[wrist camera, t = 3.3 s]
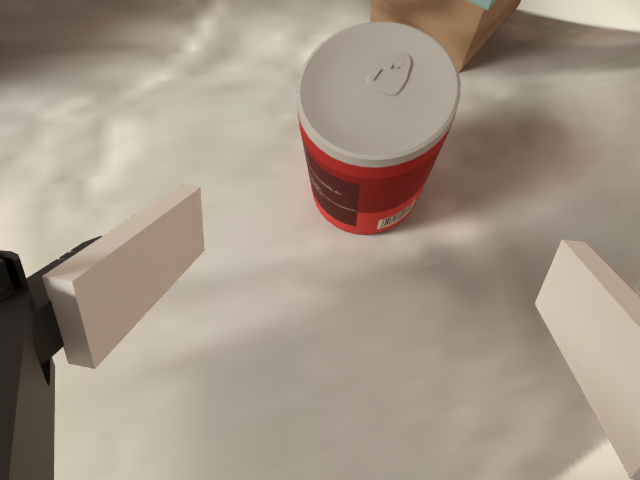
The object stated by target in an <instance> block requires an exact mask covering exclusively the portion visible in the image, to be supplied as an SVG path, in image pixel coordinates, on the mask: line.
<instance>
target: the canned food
mask: <svg viewBox="0 0 640 480" xmlns="http://www.w3.org/2000/svg"><path fill="white" fill-rule="evenodd" d="M460 85H461V82H460V77H459V73H458V69H457V66H456V64H455V62H454V60H453V58H452V56H451V55H450V54H449V52H448V51H447V50H446V49H445V47H444V46H443V45H442V44H441V43H440V42H438V41H437V40H436V39H435V38H434V37H432V36H431V35H429V34H427V33H425V32H424V31H422V30H420V29H417V28H414V27H411V26H409V25H406V24H400V23H394V22H371V23H364V24H359V25H356V26H353V27H349V28H346V29H344V30H342V31H340V32H338V33H336V34H334V35H332V36H331V37H330V38H328V39H327V40H325V41H324V42H323V43H321V44H320V45H319V46H318V47H317V48H316V49H315V50H314V51H313V52H312V54H311V55H310V57H309V58H308V60H307V61H306V63H305V64H304V66H303V69H302V71H301V73H300V76H299V80H298V85H297V112H298V117H299V125H300V130H301V136H302V141H303V146H304V151H305V156H306V161H307V166H308V172H309V177H310V182H311V187H312V192H313V196H314V200H315V203H316V205H317V207H318V209H319V211H320V212H321V214H322V215H323V216H324V217H325V218H326V219H327V220H328V221H329V222H330V223H332V224H333V225H334V226H336V227H337V228H340V229H342V230H344V231H346V232H349V233H353V234H361V235H368V234H376V233H379V232H382V231H385V230H388V229H390V228H392V227H393V226H395V225H397V224H398V223H400V222H401V221H402V220H403V219H404V218H406V217H407V215H408V214H409V213H410V212H411V210H412V209H413V207H414V205H415V203H416V201H417V199H418V197H419V195H420V193H421V191H422V189H423V186H424V184H425V182H426V180H427V178H428V176H429V173H430V171H431V169H432V167H433V165H434V163H435V160H436V158H437V156H438V154H439V152H440V150H441V147H442V145H443V143H444V141H445V139H446V137H447V134H448V132H449V130H450V127H451V125H452V122H453V120H454V118H455V114H456V111H457V107H458V103H459V99H460Z"/></svg>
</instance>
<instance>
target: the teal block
mask: <svg viewBox="0 0 640 480" xmlns="http://www.w3.org/2000/svg"><path fill="white" fill-rule="evenodd" d="M469 1H470V2H472V3H474V4H476V5H478V6H480V7H482V8H484V9H486V10H488V9H489V8H490V7H491V6H492V5H493V4H494V3H495V1H496V0H469Z"/></svg>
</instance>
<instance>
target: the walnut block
mask: <svg viewBox="0 0 640 480" xmlns="http://www.w3.org/2000/svg"><path fill="white" fill-rule="evenodd" d="M520 1H521V0H496V1H495V3H494V4H493V5H492V6H491V7H490V8H489V9H488V10H486V9H484V8H482V7H480V6H478V5H476V4H474V3H472V2H470V1H469V0H372V6H371V19H370V21H371V22H394V23H400V24H406V25H409V26H411V27H414V28H417V29H420V30H422V31H424V32H425V33H427V34H429V35H431V36H432V37H434V38H435V39H436V40H437V41H438V42H440V43H441V44H442V45H443V46H444V47H445V49H446V50H447V51H448V52H449V54H450V55H451V56H452V58H453V60H454V62H455V64H456V66H457V69H458V73H459V72H460V71H461V70H462V69H463V68H464V67H465V66H466V64H467V63H468V62H469V61H470V60H471V59H472V57H473V56H474V55H475V54H476V53H477V52H478V51H479V49H480V48H481V47H482V46H483V45H484V44H485V43H486V41H487V40H488V39H489V38H490V37H491V36H492V35H493V33H494V32H495V31H496V30H497V29H498V28H499V27H500V25H501V24H502V23H503V22H504V21H505V20H506V19H507V17H508V16H509V15H510V14H511V13H512V12H513V11H514V9H516V8H517V7H518V6H519V4H520Z"/></svg>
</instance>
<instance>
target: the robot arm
mask: <svg viewBox="0 0 640 480" xmlns="http://www.w3.org/2000/svg"><path fill="white" fill-rule="evenodd" d="M203 251H204V237H203V221H202V206H201V191H200V187H194V186H187V185H180V186H179V187H177V188H176V189H174V190H173V191H171V192H170V193H168V194H167V195H165V196H164V197H162V198H160V199H159V200H157V201H156V202H154V203H153V204H151V205H150V206H148V207H147V208H145V209H144V210H142V211H141V212H139V213H138V214H136V215H135V216H133V217H131V218H130V219H128V220H127V221H125V222H124V223H122V224H121V225H119V226H118V227H116V228H115V229H113V230H112V231H110V232H109V233H107V234H106V235H104V236H99V237H97V238H94V239H91V240H88V241H86V242H83V243H82V244H80V245H79V246H77V247H75V248H74V249H72V250H71V252H70V253H69V252H68V253H66V254H64V255H63V256H61V257H60V259H59V260H58V259H56V260H55V261H53V262H52V263H50V264H49V265H47V266H45V267H44V268H42V269H41V270H39V271H38V272H36V273H34V274H33V275H31V276H30V277H28V278H27V279H26V276H25V273H24V270H23V267H22V264H21V261H20V258H19V256H18V254H16V253H14V252H11V251H0V480H54V415H55V365H54V362H53V359H52V356H53V355H54V354H56V353H57V352H58V351H59V350H60V349H61V348H62V347H64V351H65V354H66V357H67V360H68V363H69V364H74V365H79V366H83V367H88V368H93V369H95V368H96V367H97V366H98V365H99V364H100V363H101V362H102V361H103V360H104V358H105V357H106V356H107V355H108V354H109V353H110V352H111V351H112V350H113V349H114V348H115V347H116V345H117V344H118V343H119V342H120V341H121V340H122V339H123V338H124V337H125V336H126V335H127V334H128V332H129V331H130V330H131V329H132V328H133V327H134V326H135V325H136V324H137V323H138V322H139V321H140V319H141V318H142V317H143V316H144V315H145V314H146V313H147V312H148V311H149V310H150V309H151V308H152V306H153V305H154V304H155V303H156V302H157V301H158V300H159V299H160V298H161V297H162V296H163V295H164V293H165V292H166V291H167V290H168V289H169V288H170V287H171V286H172V285H173V284H174V283H175V282H176V280H177V279H178V278H179V277H180V276H181V275H182V274H183V273H184V272H185V271H186V270H187V269H188V267H189V266H190V265H191V264H192V263H193V262H194V261H195V260H196V259H197V258H198V257H199V256H200V254H201V253H202V252H203ZM535 305H536V307H537V309H538V311H539V313H540V315H541V316H542V318H543V320H544V322H545V324H546V325H547V327H548V329H549V331H550V333H551V335H552V336H553V338H554V340H555V342H556V344H557V346H558V347H559V349H560V351H561V353H562V355H563V356H564V358H565V360H566V362H567V364H568V366H569V367H570V369H571V371H572V373H573V375H574V377H575V378H576V380H577V382H578V384H579V386H580V387H581V389H582V391H583V393H584V395H585V397H586V398H587V400H588V402H589V404H590V406H591V408H592V409H593V411H594V413H595V415H596V417H597V418H598V420H599V422H600V424H601V426H602V428H603V429H604V431H605V433H606V435H607V437H608V439H609V440H610V442H611V444H612V446H613V448H614V449H615V451H616V453H617V455H618V457H619V459H620V460H621V462H622V464H623V466H624V468H625V470H626V471H627V473H628V475H629V477H630V479H634V480H640V298H639V297H638V296H637V294H636V293H635V292H634V291H633V290H632V289H631V288H630V287H629V286H628V285H627V284H626V283H625V282H624V281H623V280H622V279H621V278H620V277H619V276H618V275H617V274H616V273H615V272H614V271H613V270H612V269H611V268H610V267H609V266H608V265H607V264H606V263H605V262H604V261H603V260H602V259H601V258H600V257H599V256H598V255H597V254H596V253H595V252H594V251H593V250H592V249H591V247H590V246H589V245H588V244H587V243H585V242H578V241H571V240H564V239H562V241H561V243H560V245H559V248H558V250H557V252H556V255H555V257H554V259H553V262H552V264H551V266H550V269H549V271H548V273H547V276H546V278H545V281H544V283H543V285H542V288H541V290H540V292H539V295H538V297H537V299H536V302H535Z"/></svg>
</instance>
